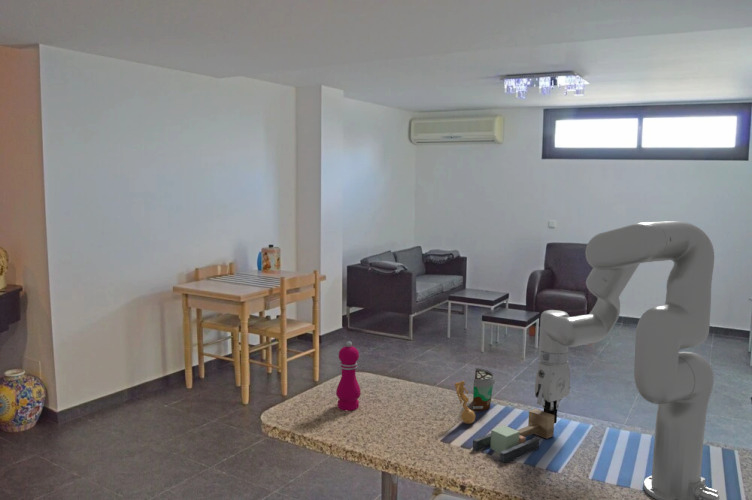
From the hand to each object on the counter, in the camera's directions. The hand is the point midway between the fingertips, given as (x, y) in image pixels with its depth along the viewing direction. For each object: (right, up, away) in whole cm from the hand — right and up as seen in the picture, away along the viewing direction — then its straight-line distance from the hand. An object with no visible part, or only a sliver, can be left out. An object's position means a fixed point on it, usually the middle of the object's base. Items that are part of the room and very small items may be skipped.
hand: (549, 422), depth 167 cm
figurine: (-23, -2, +5) cm, 23 cm away
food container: (-15, -1, +18) cm, 23 cm away
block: (-15, -4, -12) cm, 19 cm away
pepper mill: (-56, 0, +16) cm, 58 cm away
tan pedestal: (-7, -3, -6) cm, 10 cm away
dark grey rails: (-14, -4, -11) cm, 18 cm away
